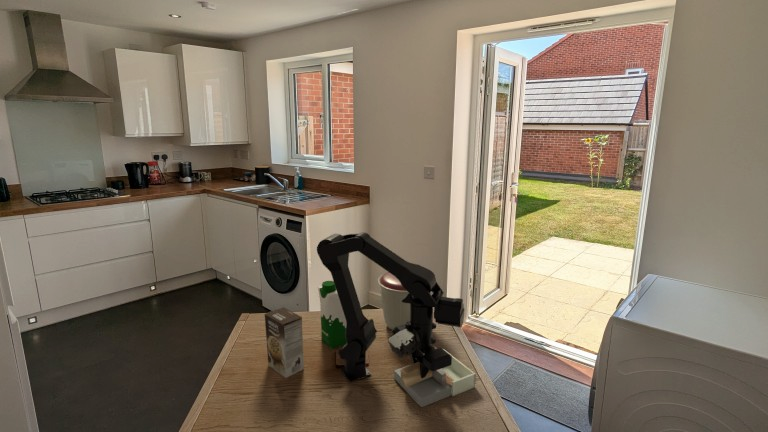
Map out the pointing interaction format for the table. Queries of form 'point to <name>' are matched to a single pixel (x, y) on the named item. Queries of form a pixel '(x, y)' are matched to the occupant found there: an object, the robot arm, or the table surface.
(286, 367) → the coffee box
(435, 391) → the grey stepped riser
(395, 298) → the canister
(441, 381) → the scraper
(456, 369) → the tray
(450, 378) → the tile terracotta
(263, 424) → the table surface
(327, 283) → the milk carton
